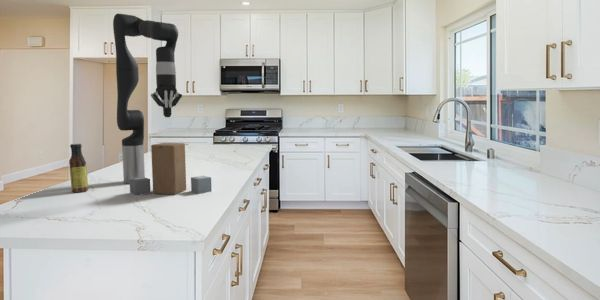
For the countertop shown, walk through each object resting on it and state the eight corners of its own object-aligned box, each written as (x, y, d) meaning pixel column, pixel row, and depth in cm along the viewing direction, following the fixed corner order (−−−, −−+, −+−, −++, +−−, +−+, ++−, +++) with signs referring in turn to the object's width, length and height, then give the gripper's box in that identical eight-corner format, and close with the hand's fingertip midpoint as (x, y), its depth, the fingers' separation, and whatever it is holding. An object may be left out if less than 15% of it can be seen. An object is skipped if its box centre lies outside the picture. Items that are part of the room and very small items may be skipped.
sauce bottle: (91, 190, 179) (88, 143, 177) (78, 193, 174) (75, 144, 171) (80, 189, 182) (78, 142, 180) (67, 192, 176) (64, 144, 174)
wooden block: (175, 195, 171) (173, 145, 168) (152, 194, 173) (150, 144, 170) (186, 189, 180) (185, 142, 178) (165, 189, 182) (163, 142, 180)
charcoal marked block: (130, 193, 174) (129, 178, 173) (144, 191, 178) (143, 176, 178) (136, 195, 170) (135, 180, 169) (150, 193, 174) (150, 178, 173)
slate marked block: (191, 191, 178) (190, 176, 177) (204, 189, 182) (203, 174, 181) (198, 193, 173) (198, 178, 172) (211, 191, 177) (211, 176, 176)
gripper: (176, 74, 178) (178, 116, 180) (145, 73, 169) (147, 117, 171) (185, 74, 173) (186, 117, 175) (154, 72, 164) (155, 117, 166)
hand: (167, 117), depth 173 cm, fingers closed
